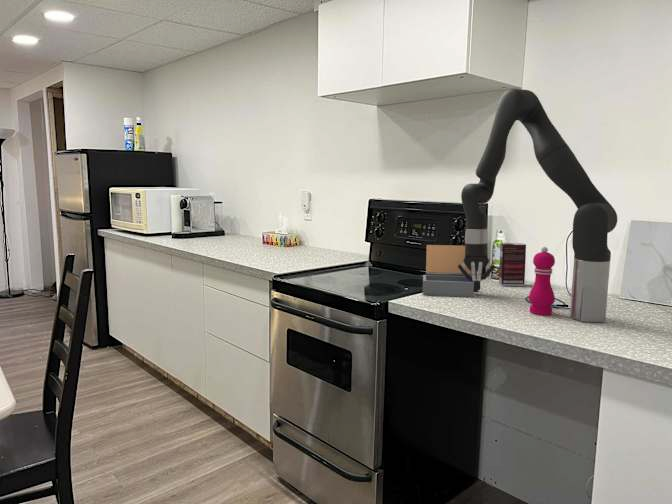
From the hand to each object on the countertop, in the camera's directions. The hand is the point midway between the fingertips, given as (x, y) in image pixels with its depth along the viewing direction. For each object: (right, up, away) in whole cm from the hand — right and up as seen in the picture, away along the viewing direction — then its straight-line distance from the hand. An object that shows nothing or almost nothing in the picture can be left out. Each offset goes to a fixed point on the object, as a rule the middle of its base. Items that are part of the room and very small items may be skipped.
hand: (475, 291), depth 176 cm
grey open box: (-9, -1, +3) cm, 9 cm away
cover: (-8, +11, +7) cm, 15 cm away
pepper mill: (+13, -5, -24) cm, 28 cm away
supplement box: (+18, +1, +15) cm, 23 cm away
